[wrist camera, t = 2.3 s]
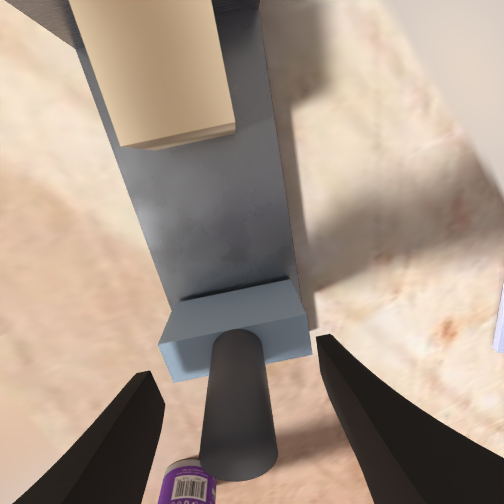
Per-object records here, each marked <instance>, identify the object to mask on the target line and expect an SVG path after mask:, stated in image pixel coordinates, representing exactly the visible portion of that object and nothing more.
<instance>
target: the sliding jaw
mask: <svg viewBox="0 0 504 504" xmlns="http://www.w3.org/2000/svg"><path fill="white" fill-rule="evenodd" d="M158 346H159V349H160V351H161V353H162V356H163V358H164V361H165V363H166V365H167V368H168V370H169V373H170V375H171V377H172V380H173V382H174V383H175V382H180V381H185V380H190V379H195V378H200V377H205V376H209V380H208V388H207V396H206V404H205V412H204V420H203V428H202V436H201V445H200V453H199V462H200V465H201V467H202V468H203V469H204V471H205V472H207V473H208V474H209V475H211V476H213V477H215V478H217V479H220V480H225V481H246V480H250V479H254V478H257V477H259V476H261V475H263V474H264V473H266V472H267V471H269V470H270V469H271V468H272V467H273V465H274V464H275V462H276V460H277V457H278V450H277V443H276V436H275V429H274V422H273V415H272V409H271V402H270V395H269V388H268V381H267V374H266V367H265V364H269V363H274V362H279V361H283V360H288V359H293V358H298V357H303V356H308V355H312V348H311V341H310V334H309V327H308V320H307V314H306V312H305V309H304V307H303V305H302V303H301V301H300V298H299V296H298V294H297V292H296V290H295V288H294V285H293V283H292V281H291V279H289V280H284V281H279V282H274V283H269V284H265V285H260V286H255V287H250V288H245V289H240V290H235V291H231V292H226V293H221V294H216V295H211V296H206V297H202V298H197V299H192V300H187V301H182V302H177V303H175V305H174V307H173V310H172V312H171V315H170V317H169V319H168V322H167V324H166V326H165V329H164V331H163V334H162V336H161V338H160V341H159V343H158Z"/></svg>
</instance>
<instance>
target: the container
mask: <svg viewBox="0 0 504 504" xmlns="http://www.w3.org/2000/svg"><path fill="white" fill-rule="evenodd" d="M216 480H217V478H215V477H213V476H211V475H209V474H208V473H207V472H205V471H204V469H203V468H202V467H201V465H200V462H199V460H197V459H186V460H181V461H178V462H176V463H174V464H172V465H171V466H169V467H168V468H167V470H166V471H165V475H164V479H163V483H162V487H161V492H160V496H159V500H158V504H215V498H216Z"/></svg>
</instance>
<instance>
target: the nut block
mask: <svg viewBox="0 0 504 504" xmlns="http://www.w3.org/2000/svg"><path fill="white" fill-rule="evenodd" d="M69 3H70V5H71V8H72V11H73V14H74V17H75V20H76V22H77V25H78V28H79V31H80V34H81V36H82V39H83V42H84V45H85V48H86V51H87V53H88V56H89V59H90V62H91V65H92V67H93V70H94V73H95V76H96V79H97V81H98V84H99V87H100V90H101V93H102V96H103V98H104V101H105V104H106V107H107V110H108V112H109V115H110V118H111V121H112V124H113V126H114V129H115V132H116V135H117V138H118V141H119V143H120V146H121V147H129V148H138V149H147V150H160V149H165V148H170V147H174V146H179V145H184V144H188V143H193V142H198V141H202V140H207V139H212V138H216V137H221V136H226V135H231V134H235V118H234V113H233V108H232V103H231V98H230V93H229V88H228V83H227V78H226V73H225V68H224V63H223V57H222V52H221V47H220V42H219V37H218V32H217V27H216V22H215V17H214V12H213V7H212V2H211V0H69Z"/></svg>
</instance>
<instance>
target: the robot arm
mask: <svg viewBox="0 0 504 504" xmlns="http://www.w3.org/2000/svg"><path fill="white" fill-rule="evenodd" d="M316 342H317V350H318V357H319V365H320V372H321V376H322V379H323V382H324V385H325V387H326V390H327V393H328V396H329V399H330V401H331V403H332V405H333V407H334V410H335V412H336V414H337V416H338V418H339V421H340V423H341V425H342V427H343V429H344V431H345V434H346V436H347V438H348V440H349V442H350V444H351V447H352V449H353V451H354V453H355V455H356V457H357V460H358V462H359V465H360V467H361V469H362V472H363V474H364V477H365V480H366V482H367V485H368V488H369V490H370V493H371V496H372V498H373V501H374V504H504V458H503V457H501V456H499V455H497V454H495V453H493V452H492V451H490V450H488V449H486V448H484V447H482V446H480V445H479V444H477V443H475V442H474V441H472V440H470V439H468V438H467V437H465V436H463V435H462V434H460V433H458V432H457V431H455V430H453V429H452V428H450V427H448V426H447V425H445V424H443V423H442V422H440V421H438V420H437V419H435V418H434V417H432V416H431V415H429V414H428V413H426V412H425V411H423V410H421V409H420V408H419V407H417V406H416V405H414V404H413V403H411V402H410V401H408V400H407V399H406V398H404V397H403V396H401V395H400V394H399V393H397V392H396V391H395V390H393V389H392V388H391V387H390V386H388V385H387V384H386V383H384V382H383V381H382V380H381V379H379V378H378V377H377V376H376V375H375V374H373V373H372V372H371V371H370V370H369V369H368V368H366V367H365V366H364V365H363V364H362V363H361V362H359V361H358V360H357V359H356V358H355V357H354V356H353V355H352V354H351V353H350V352H349V351H348V350H346V349H345V348H344V347H343V346H342V345H341V344H340V343H339V342H338V341H337V340H336V339H335V338H334V336H333V335H331V334H327V335H322V336H317V337H316ZM492 347H493V349H494V350H495V351H496V352H498V353H504V284H503V290H502V295H501V301H500V307H499V312H498V318H497V323H496V329H495V334H494V340H493V345H492ZM164 411H165V402H164V400H163V398H162V396H161V393H160V391H159V389H158V387H157V384H156V382H155V380H154V378H153V376H152V373H151V371H145V372H140V373H136V374H135V375H134V376H133V377H132V379H131V380H130V381H129V382H128V383H127V384H126V385H125V387H124V388H123V389H122V390H121V391H120V392H119V394H118V395H117V396H116V397H115V398H114V400H113V401H112V402H111V403H110V404H109V405H108V406H107V408H106V409H105V410H104V411H103V412H102V413H101V415H100V416H99V417H98V418H97V419H96V420H95V421H94V423H93V424H92V425H91V426H90V427H89V428H88V429H87V430H86V431H85V432H84V434H83V435H82V436H81V437H80V438H79V439H78V440H77V441H76V442H75V443H74V444H73V445H72V447H71V448H70V449H69V450H68V451H67V452H66V453H65V454H64V455H63V456H62V457H61V458H60V459H59V460H58V461H57V462H56V463H55V464H54V465H53V466H52V467H51V468H50V469H49V470H48V471H47V472H46V473H45V474H44V475H43V476H42V477H41V478H40V479H39V480H38V481H37V482H36V483H35V484H34V485H33V486H32V487H30V488H29V489H28V490H27V491H26V492H25V493H24V494H23V495H22V496H21V497H20V498H18V499H17V500H16V501H15V502H14V503H13V504H141V502H142V498H143V495H144V491H145V488H146V484H147V480H148V477H149V473H150V470H151V466H152V463H153V459H154V456H155V452H156V448H157V445H158V441H159V437H160V434H161V429H162V423H163V417H164Z"/></svg>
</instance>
